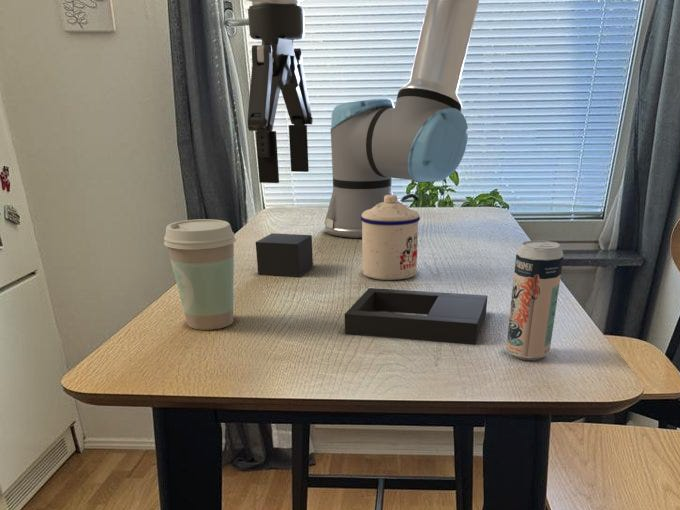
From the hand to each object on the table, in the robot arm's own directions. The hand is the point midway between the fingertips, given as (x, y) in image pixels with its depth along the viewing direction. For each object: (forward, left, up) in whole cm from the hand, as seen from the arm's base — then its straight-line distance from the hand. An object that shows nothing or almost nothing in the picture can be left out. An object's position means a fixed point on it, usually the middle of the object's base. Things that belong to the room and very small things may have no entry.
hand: (285, 177), depth 101 cm
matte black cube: (-1, -1, -14) cm, 14 cm away
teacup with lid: (-4, +16, -14) cm, 22 cm away
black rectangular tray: (+21, +25, -14) cm, 35 cm away
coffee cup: (+27, -1, -14) cm, 30 cm away
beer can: (+29, +39, -14) cm, 50 cm away
